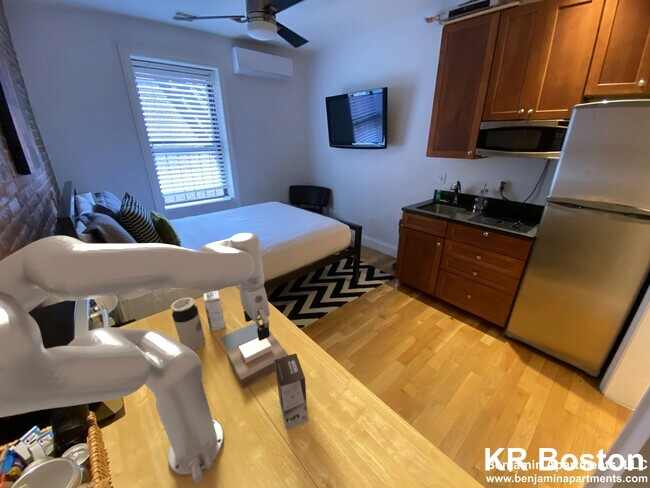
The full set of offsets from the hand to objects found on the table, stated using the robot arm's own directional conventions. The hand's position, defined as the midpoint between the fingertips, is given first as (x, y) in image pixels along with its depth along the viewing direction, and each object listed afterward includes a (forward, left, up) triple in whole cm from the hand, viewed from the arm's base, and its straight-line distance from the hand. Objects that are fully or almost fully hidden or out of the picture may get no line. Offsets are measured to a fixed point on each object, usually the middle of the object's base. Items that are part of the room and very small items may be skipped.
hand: (257, 328), depth 80 cm
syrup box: (+33, +5, -19) cm, 38 cm away
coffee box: (-16, -2, -19) cm, 25 cm away
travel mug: (+28, +15, -19) cm, 37 cm away
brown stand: (+6, -1, -19) cm, 20 cm away
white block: (+7, -1, -15) cm, 16 cm away
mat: (+19, -1, -19) cm, 27 cm away
